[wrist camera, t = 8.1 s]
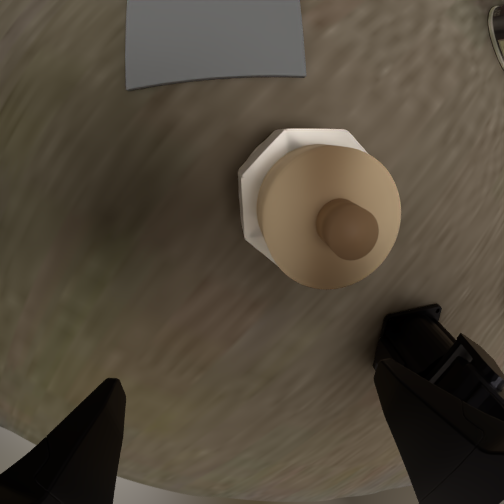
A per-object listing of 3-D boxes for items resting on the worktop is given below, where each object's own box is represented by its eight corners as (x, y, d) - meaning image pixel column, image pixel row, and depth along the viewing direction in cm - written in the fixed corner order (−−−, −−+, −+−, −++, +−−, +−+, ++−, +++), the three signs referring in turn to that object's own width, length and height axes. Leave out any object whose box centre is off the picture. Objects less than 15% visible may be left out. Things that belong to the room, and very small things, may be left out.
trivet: (290, -50, 12) (292, -54, 12) (303, 77, 16) (306, 76, 16) (133, -40, 12) (131, -43, 11) (128, 90, 16) (126, 89, 15)
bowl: (355, 131, 18) (384, 132, 14) (352, 242, 21) (377, 265, 17) (234, 131, 18) (238, 130, 14) (242, 252, 21) (247, 278, 17)
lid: (376, 145, 15) (426, 152, 10) (371, 259, 17) (410, 296, 13) (252, 146, 14) (266, 150, 10) (259, 271, 17) (273, 318, 13)
